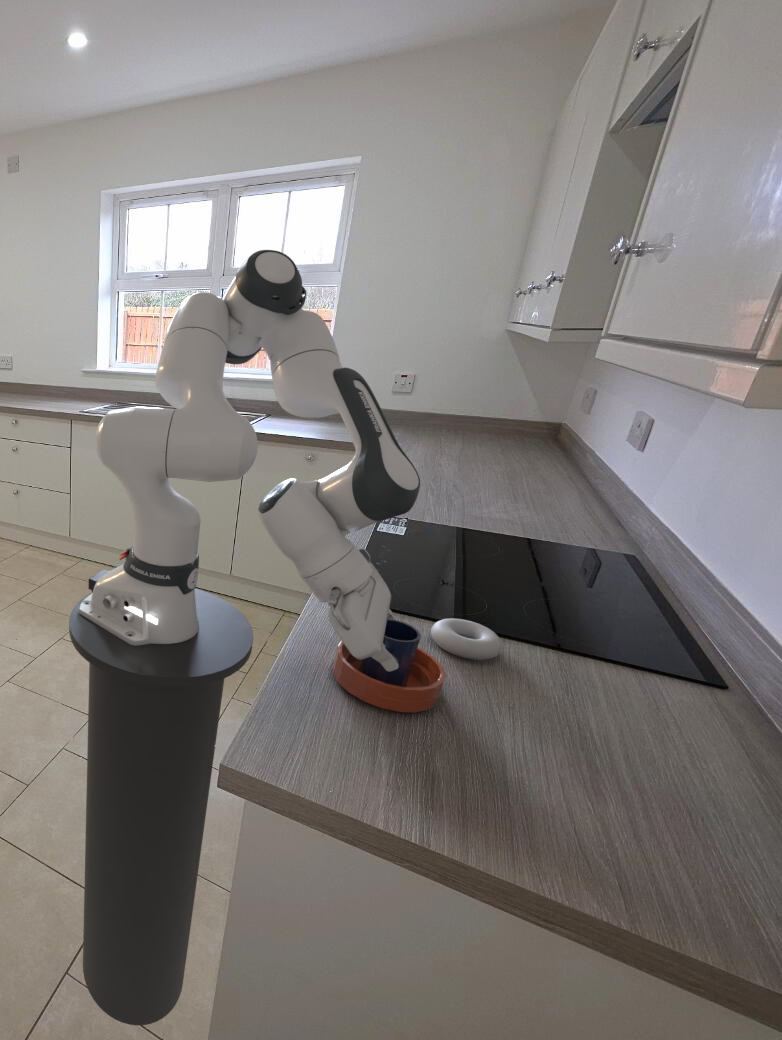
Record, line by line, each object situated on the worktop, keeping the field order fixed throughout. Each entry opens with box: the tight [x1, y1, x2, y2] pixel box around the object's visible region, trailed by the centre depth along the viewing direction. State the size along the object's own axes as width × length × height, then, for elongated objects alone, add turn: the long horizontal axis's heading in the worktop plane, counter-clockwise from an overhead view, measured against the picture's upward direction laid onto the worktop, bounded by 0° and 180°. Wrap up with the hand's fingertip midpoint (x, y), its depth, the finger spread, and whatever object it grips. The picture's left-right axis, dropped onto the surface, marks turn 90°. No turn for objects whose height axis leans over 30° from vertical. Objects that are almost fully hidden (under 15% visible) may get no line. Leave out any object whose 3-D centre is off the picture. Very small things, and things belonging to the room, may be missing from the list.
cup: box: [359, 619, 422, 687], centre depth 85 cm, size 6×6×9 cm
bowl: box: [332, 640, 447, 713], centre depth 85 cm, size 14×14×4 cm
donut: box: [430, 617, 503, 661], centre depth 95 cm, size 10×4×10 cm
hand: (396, 651), depth 84 cm, fingers open, 8 cm apart
